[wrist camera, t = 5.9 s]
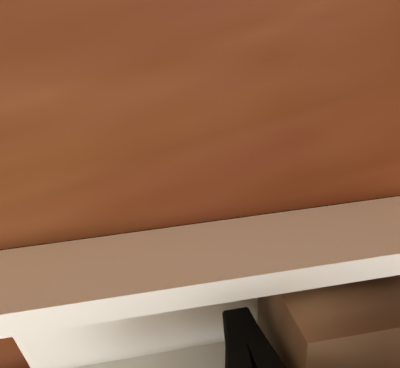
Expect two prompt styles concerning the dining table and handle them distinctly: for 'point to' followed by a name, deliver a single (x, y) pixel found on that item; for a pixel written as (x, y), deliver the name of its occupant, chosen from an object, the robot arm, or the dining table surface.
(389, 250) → the chute
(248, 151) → the dining table surface
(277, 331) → the walnut block
